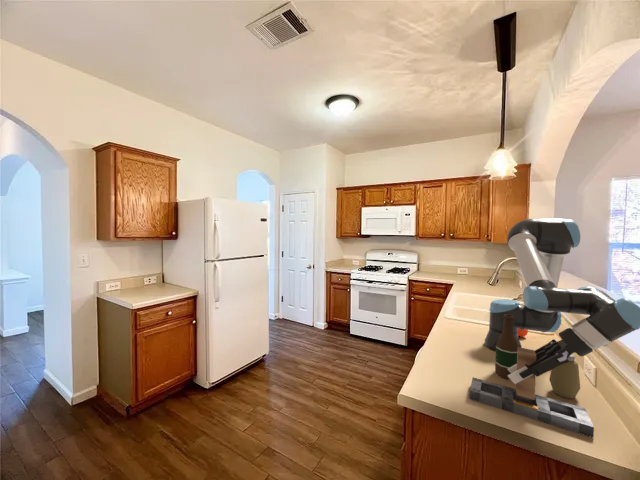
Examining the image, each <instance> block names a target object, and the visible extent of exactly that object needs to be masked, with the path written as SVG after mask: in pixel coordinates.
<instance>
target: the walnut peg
mask: <svg viewBox="0 0 640 480" xmlns="http://www.w3.org/2000/svg"><path fill="white" fill-rule="evenodd" d="M535 350H536V349H535ZM535 350H534V349H530V348H526V347H522V348H520V347H518V350H517V370H519V369H521V368H522V367H524V366H525V364H527V365H528V366H529V365H531V364H532V363H534V362H535V361H536V353H535ZM536 377H537V376H536V375H532V376H530V377H528V378H526V379H524V380H522V381H520V382H518V383H516V384H515V389H516V394H517V395H518V396H521V397H525V398H528V399H532V400H535V394H536Z"/></svg>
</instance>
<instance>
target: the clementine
mask: <svg viewBox="0 0 640 480" xmlns="http://www.w3.org/2000/svg"><path fill="white" fill-rule="evenodd" d="M528 332H529V330H525V329H518V337H519V336H520V338H524V337H526V336H527V335H528Z"/></svg>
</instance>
